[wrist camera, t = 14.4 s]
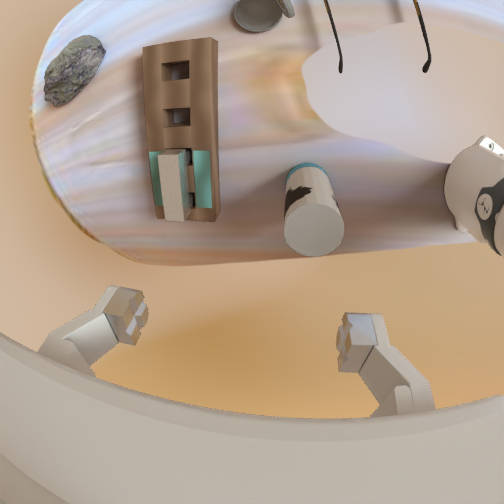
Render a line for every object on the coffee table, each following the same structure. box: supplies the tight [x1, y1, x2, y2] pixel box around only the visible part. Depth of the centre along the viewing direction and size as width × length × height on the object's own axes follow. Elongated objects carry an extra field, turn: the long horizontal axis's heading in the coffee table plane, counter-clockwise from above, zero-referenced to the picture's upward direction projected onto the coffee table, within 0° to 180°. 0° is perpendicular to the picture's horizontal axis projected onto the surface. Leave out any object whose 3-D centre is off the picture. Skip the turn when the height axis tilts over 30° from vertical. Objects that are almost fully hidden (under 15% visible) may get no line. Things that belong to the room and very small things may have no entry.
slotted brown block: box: [143, 38, 220, 222], centre depth 38 cm, size 10×28×4 cm, turn 179°
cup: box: [284, 163, 344, 257], centre depth 36 cm, size 7×7×15 cm
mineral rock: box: [44, 35, 106, 106], centre depth 29 cm, size 13×11×10 cm
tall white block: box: [158, 148, 195, 222], centre depth 40 cm, size 3×10×8 cm, turn 179°
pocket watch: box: [234, 0, 295, 32], centre depth 23 cm, size 8×8×10 cm
